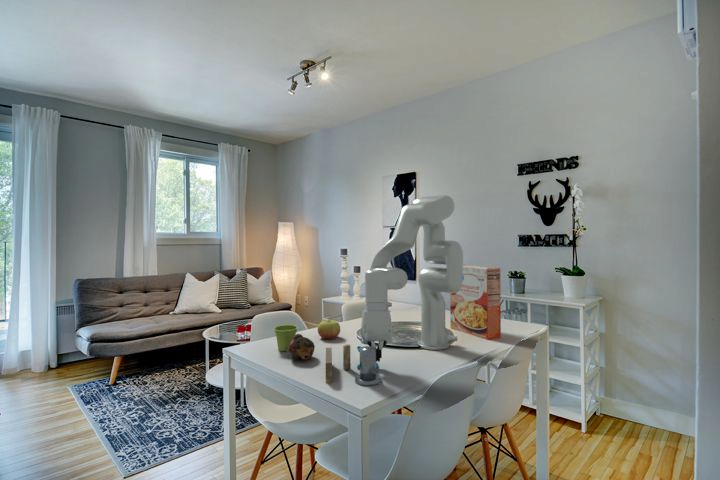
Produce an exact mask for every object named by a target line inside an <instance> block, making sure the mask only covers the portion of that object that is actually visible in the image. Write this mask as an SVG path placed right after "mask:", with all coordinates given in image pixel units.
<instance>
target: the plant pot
mask: <svg viewBox="0 0 720 480" xmlns="http://www.w3.org/2000/svg"><path fill="white" fill-rule="evenodd" d="M298 329H299V327H298V326H297V325H295V324H281V325H278V326H274V327H273V330H274V333H275V336H276V337H275V338H276V344H277V350H278V352H279V351H280V352H289V350H288V345H289V343H290V342H291V341H292V340H293V338H294V336H295V335H296V334H297V332H298V331H297V330H298Z"/></svg>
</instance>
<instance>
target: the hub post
mask: <svg viewBox="0 0 720 480" xmlns="http://www.w3.org/2000/svg"><path fill="white" fill-rule="evenodd" d="M376 349H377V347H376V348H375V347H371V346H369V345H366V346H361V348H360V352H359V364H360V369H359V374H358V375H356V376H355V377H354V381H355V383H356V385H359V386H363V387H371V386H372V387H373V385H374V386H377V385H379V384H380V383H381V381H382V377H381V376H380V375H378V374H377V369H376V363H377V362H376Z"/></svg>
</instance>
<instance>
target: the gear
mask: <svg viewBox="0 0 720 480" xmlns="http://www.w3.org/2000/svg"><path fill="white" fill-rule="evenodd" d="M361 347H362V346H361V345H357V346H356V349H357V351H358V353H360V348H361ZM356 368H357V369H358V370H360V363H359V364H358V365H357V366H356ZM379 369H380V366H379V363H378V362H376V370H379Z"/></svg>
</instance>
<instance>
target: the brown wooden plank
mask: <svg viewBox="0 0 720 480" xmlns="http://www.w3.org/2000/svg"><path fill="white" fill-rule="evenodd" d="M332 350H333V348H332V347H325V383H326V384H328V383H329V382H330V383H333V351H332ZM330 383H329V384H330Z"/></svg>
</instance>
